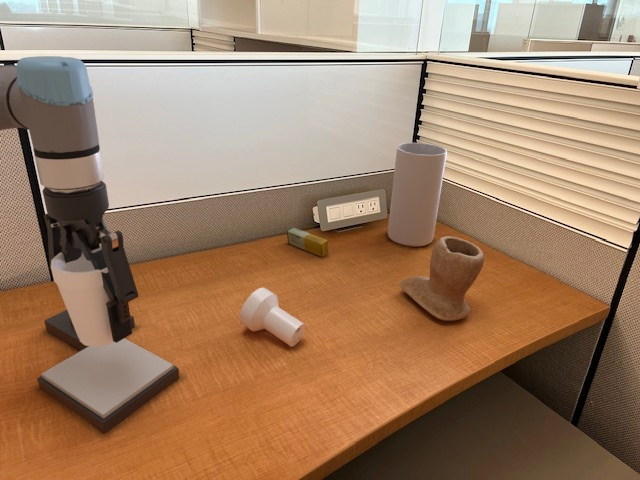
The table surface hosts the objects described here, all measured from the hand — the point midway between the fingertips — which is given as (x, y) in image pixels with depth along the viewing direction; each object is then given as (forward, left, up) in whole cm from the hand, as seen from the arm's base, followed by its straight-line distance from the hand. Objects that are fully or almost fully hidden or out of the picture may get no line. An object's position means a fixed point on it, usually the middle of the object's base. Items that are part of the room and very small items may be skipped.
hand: (100, 325), depth 72 cm
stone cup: (+36, +54, -11) cm, 66 cm away
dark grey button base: (-15, +7, -11) cm, 20 cm away
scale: (0, 0, -11) cm, 11 cm away
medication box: (-1, +59, -11) cm, 60 cm away
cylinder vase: (+18, +82, -11) cm, 85 cm away
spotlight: (+13, +25, -11) cm, 31 cm away
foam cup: (0, 0, -2) cm, 2 cm away
